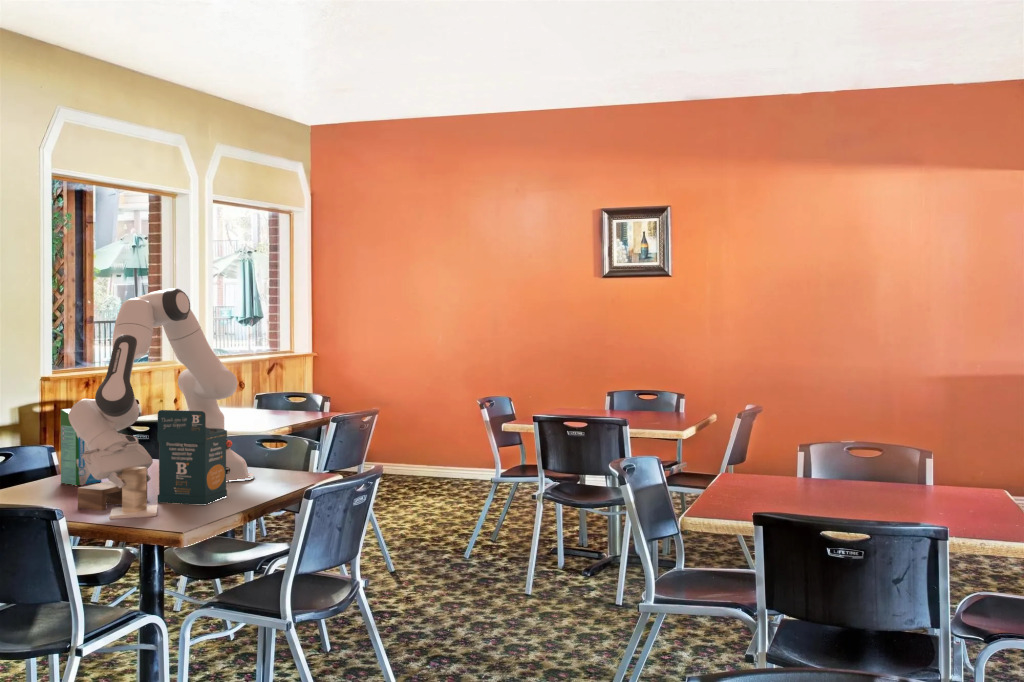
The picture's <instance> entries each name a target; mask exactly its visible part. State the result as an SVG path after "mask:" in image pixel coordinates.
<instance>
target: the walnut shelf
mask: <svg viewBox="0 0 1024 682" xmlns="http://www.w3.org/2000/svg"><path fill="white" fill-rule="evenodd" d="M106 503H107V504H106ZM115 504H118V505H117V506H122V488H119V487H118V486H117V485H116V484H114V483H113V482H111V481H109V480H108V481H103V482H102V481H101V482H100V483H93V484H88V485H83V486H80V487H79V486H78V487H77V509H79V508H84V509H83V510H89V509H91V510H90V511H101V512H102V511H106V510H107V505H115Z"/></svg>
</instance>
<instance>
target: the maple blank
mask: <svg viewBox="0 0 1024 682" xmlns="http://www.w3.org/2000/svg"><path fill="white" fill-rule="evenodd" d="M122 479H124V481H125V482H126V486H125V487H123V488H122V505H121V507H122V511H125V512H139V511H142V510H146V509H147V505H148V504H147V503H148V502H147V500H148V482H147V481H146V467H131V468H126V469H123V470H122Z"/></svg>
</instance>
